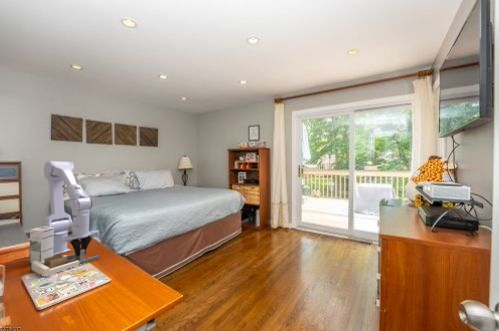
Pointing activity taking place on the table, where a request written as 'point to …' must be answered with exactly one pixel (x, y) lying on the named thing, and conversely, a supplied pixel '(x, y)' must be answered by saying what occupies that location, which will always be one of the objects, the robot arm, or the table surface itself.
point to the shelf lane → (46, 271)
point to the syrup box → (41, 243)
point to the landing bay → (84, 259)
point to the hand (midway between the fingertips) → (80, 254)
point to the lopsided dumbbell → (62, 259)
